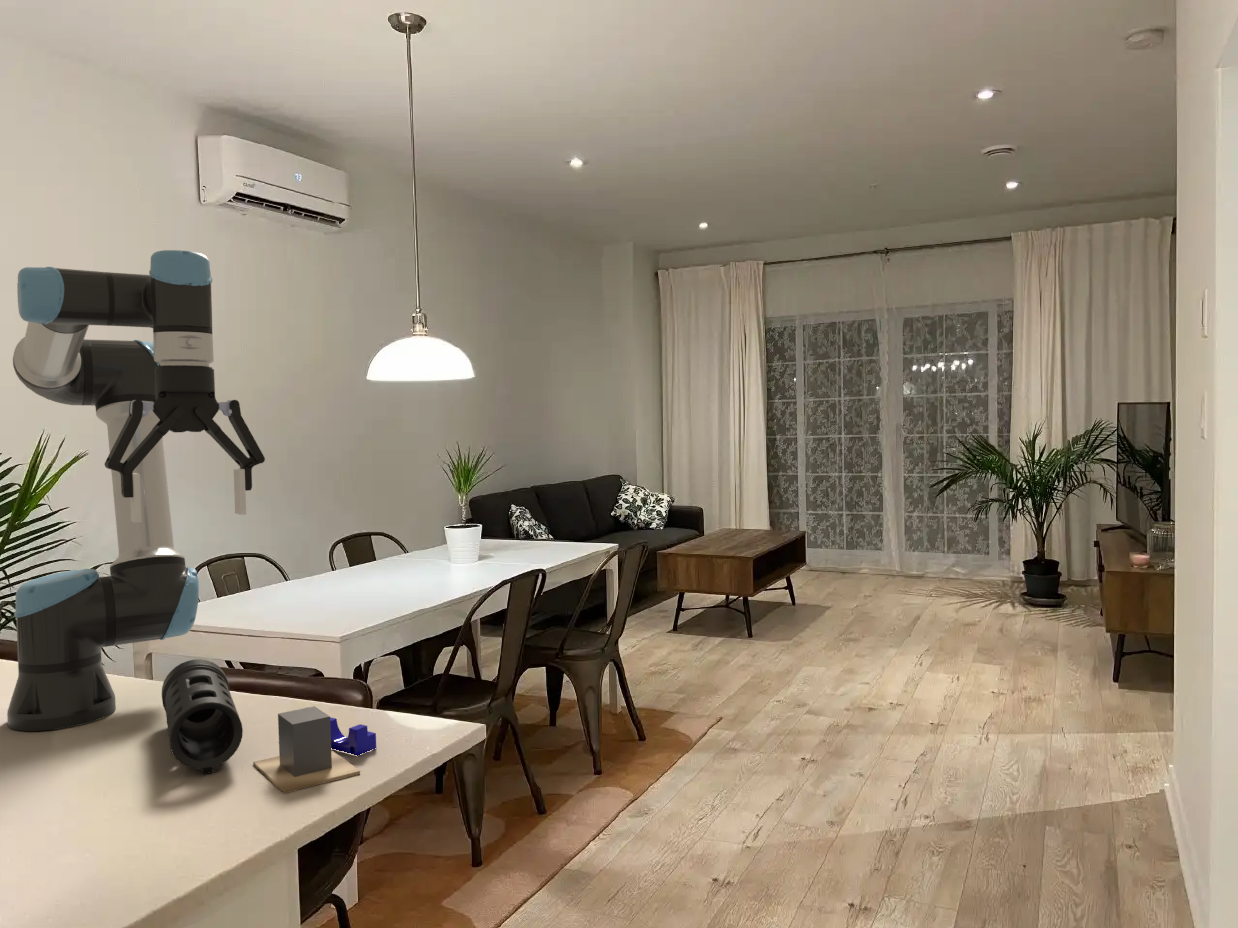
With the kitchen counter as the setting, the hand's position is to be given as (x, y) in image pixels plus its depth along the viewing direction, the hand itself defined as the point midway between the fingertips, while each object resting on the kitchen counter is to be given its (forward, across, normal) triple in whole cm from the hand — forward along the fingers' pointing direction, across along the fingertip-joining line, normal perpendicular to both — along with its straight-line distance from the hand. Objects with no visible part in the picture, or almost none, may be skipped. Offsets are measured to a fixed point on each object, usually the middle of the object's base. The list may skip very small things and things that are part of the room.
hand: (190, 517), depth 129 cm
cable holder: (+34, +17, -11) cm, 40 cm away
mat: (+34, +10, -15) cm, 38 cm away
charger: (+33, +10, -15) cm, 38 cm away
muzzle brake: (+34, +2, +5) cm, 35 cm away
